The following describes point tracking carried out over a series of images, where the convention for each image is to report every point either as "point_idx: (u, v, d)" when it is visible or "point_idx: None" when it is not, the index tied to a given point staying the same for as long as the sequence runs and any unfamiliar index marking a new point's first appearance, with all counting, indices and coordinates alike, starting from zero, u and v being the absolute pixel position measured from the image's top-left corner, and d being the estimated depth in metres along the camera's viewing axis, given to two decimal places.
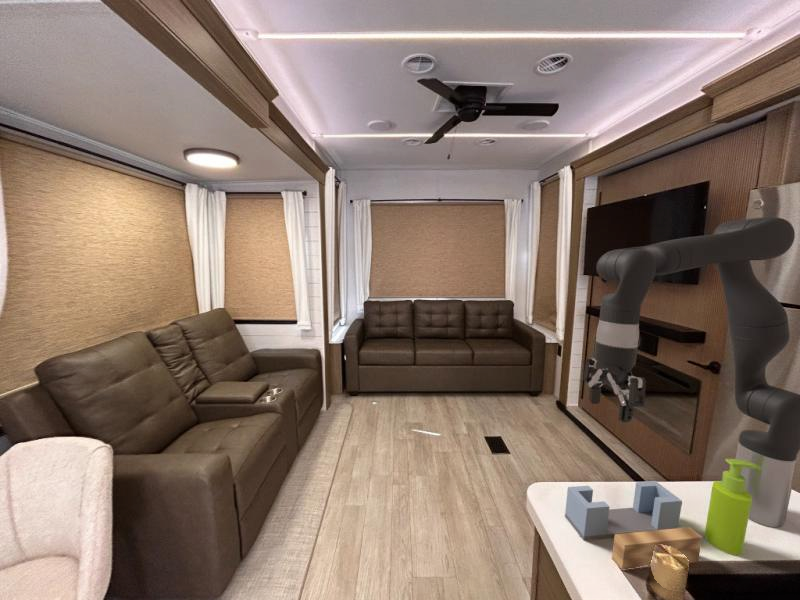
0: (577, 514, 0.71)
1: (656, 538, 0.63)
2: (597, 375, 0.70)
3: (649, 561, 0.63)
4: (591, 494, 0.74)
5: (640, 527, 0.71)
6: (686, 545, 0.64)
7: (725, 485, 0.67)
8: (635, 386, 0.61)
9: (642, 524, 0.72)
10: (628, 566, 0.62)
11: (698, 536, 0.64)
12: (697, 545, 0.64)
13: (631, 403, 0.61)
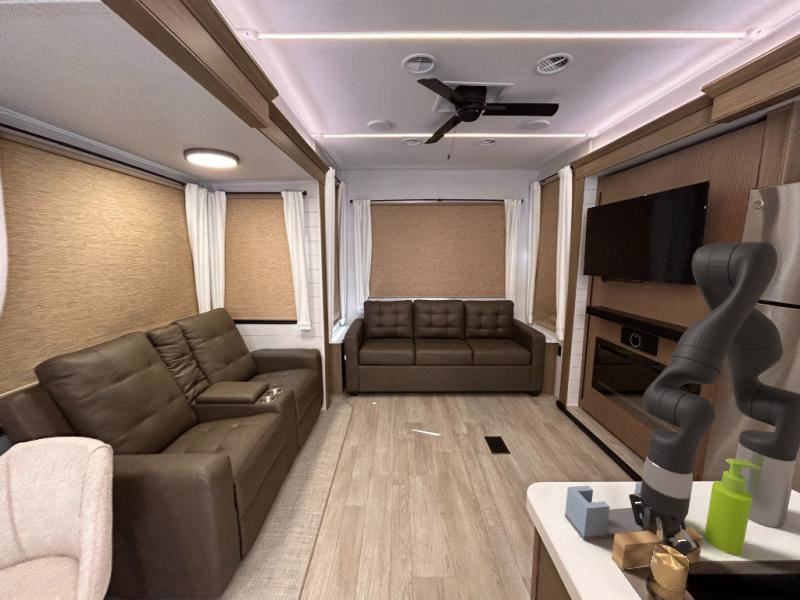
0: (577, 514, 0.71)
1: (656, 538, 0.63)
2: (646, 516, 0.65)
3: (649, 561, 0.63)
4: (591, 494, 0.74)
5: (640, 527, 0.71)
6: None
7: (725, 485, 0.67)
8: (685, 550, 0.58)
9: None
10: (628, 565, 0.62)
11: (699, 536, 0.64)
12: None
13: None
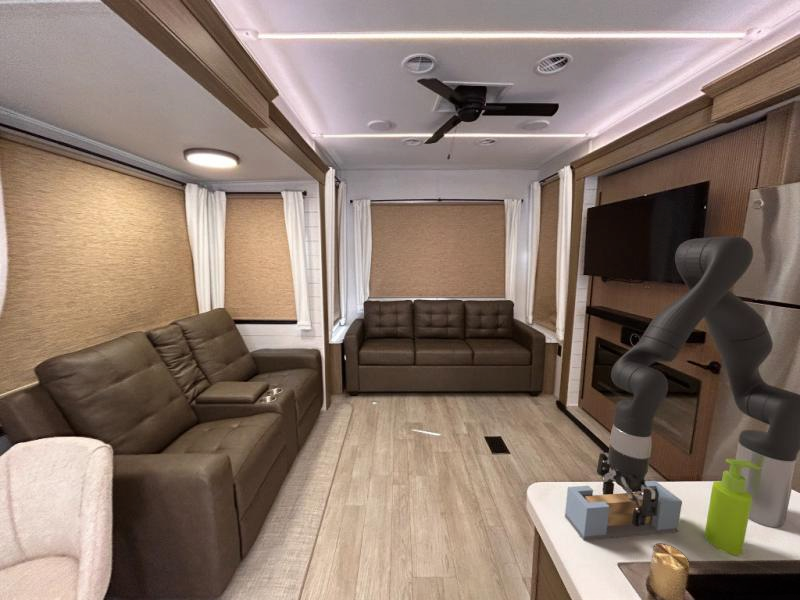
0: (577, 514, 0.71)
1: (621, 499, 0.72)
2: (611, 474, 0.74)
3: (614, 519, 0.72)
4: (591, 494, 0.74)
5: (640, 527, 0.71)
6: None
7: (725, 485, 0.67)
8: (648, 498, 0.65)
9: None
10: None
11: None
12: None
13: (644, 513, 0.66)
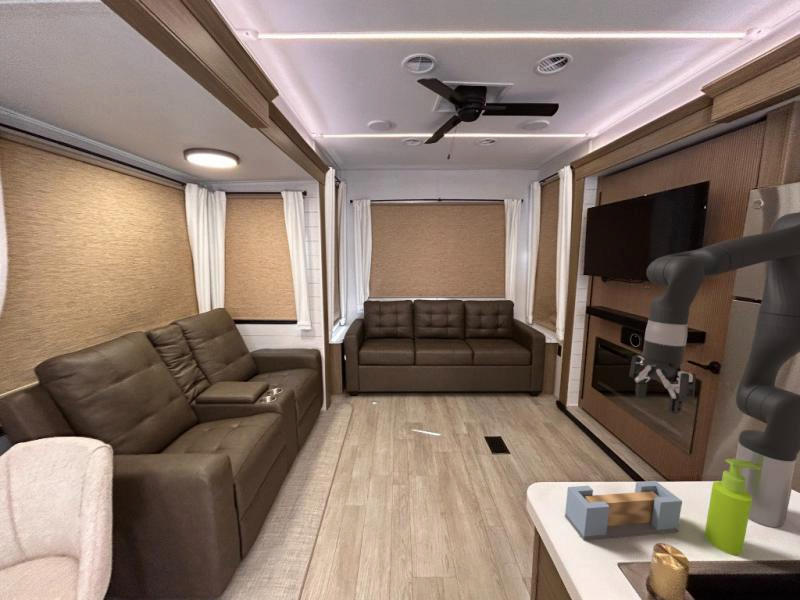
0: (577, 514, 0.71)
1: (621, 499, 0.72)
2: (645, 371, 0.76)
3: (614, 519, 0.72)
4: (591, 494, 0.74)
5: (640, 527, 0.71)
6: (647, 505, 0.72)
7: (725, 485, 0.67)
8: (686, 380, 0.67)
9: (642, 524, 0.72)
10: None
11: None
12: None
13: (682, 396, 0.68)
